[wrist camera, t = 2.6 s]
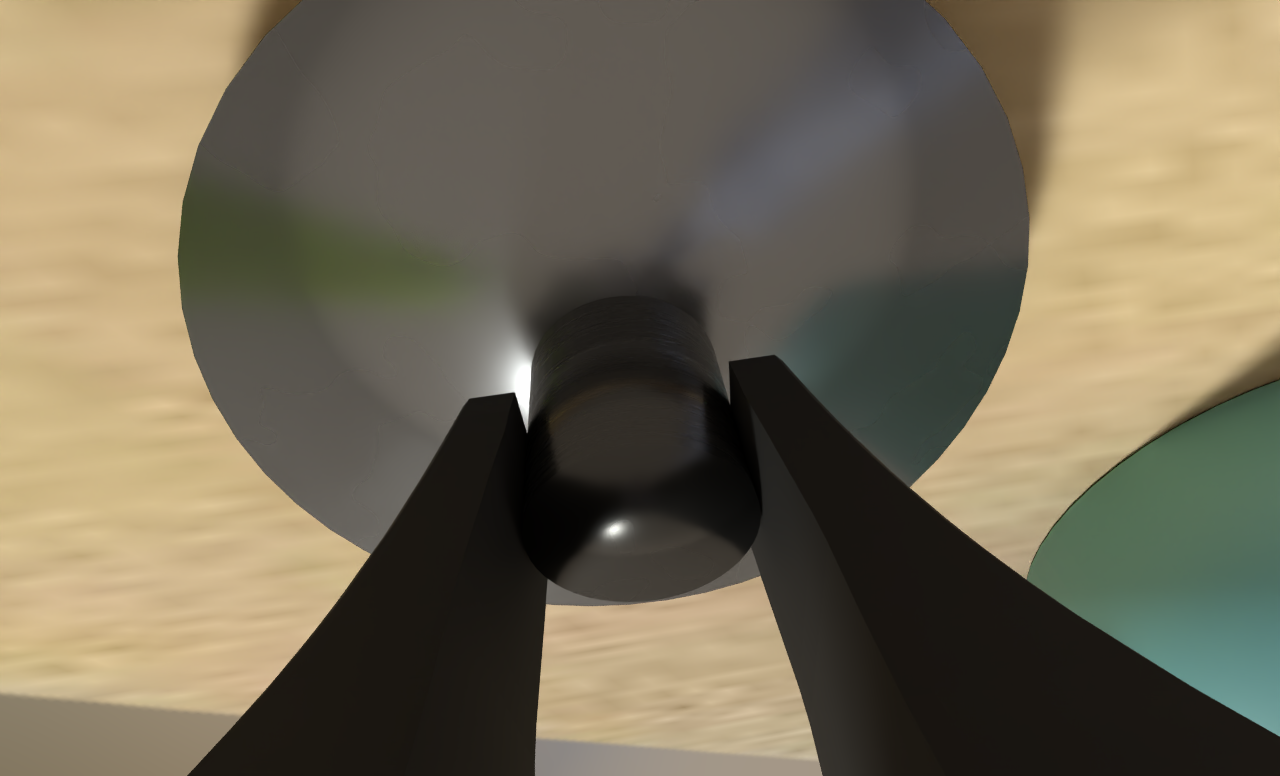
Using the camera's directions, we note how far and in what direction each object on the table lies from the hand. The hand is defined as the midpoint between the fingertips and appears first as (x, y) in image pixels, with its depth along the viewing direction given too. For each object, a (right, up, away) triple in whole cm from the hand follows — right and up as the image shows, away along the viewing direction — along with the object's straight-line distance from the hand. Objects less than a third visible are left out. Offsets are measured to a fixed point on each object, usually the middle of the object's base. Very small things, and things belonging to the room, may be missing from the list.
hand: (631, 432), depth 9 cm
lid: (0, +1, +2) cm, 2 cm away
